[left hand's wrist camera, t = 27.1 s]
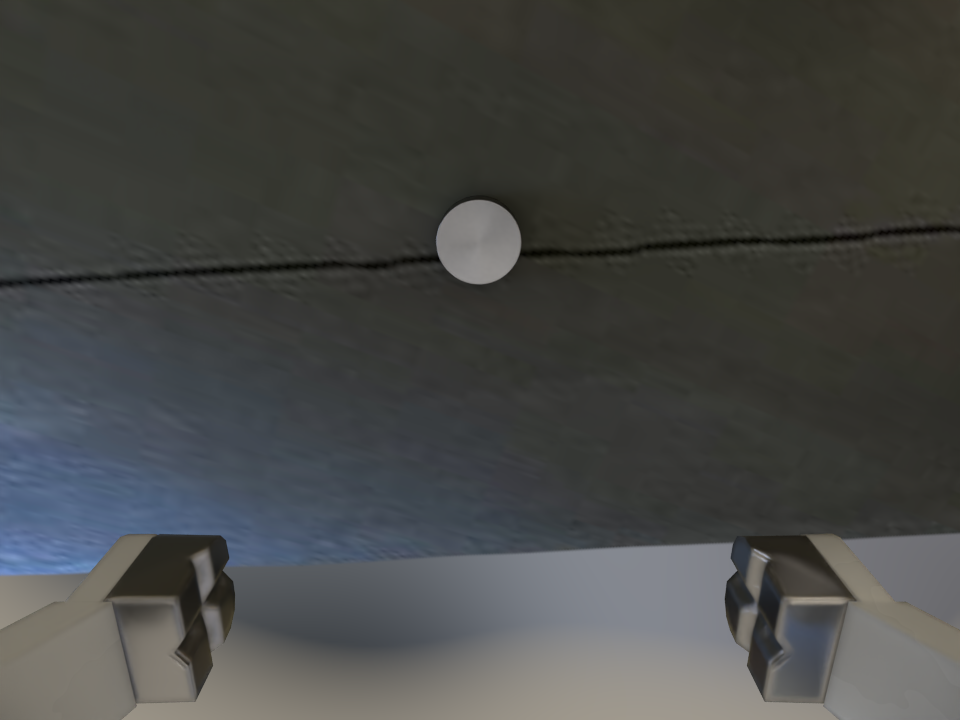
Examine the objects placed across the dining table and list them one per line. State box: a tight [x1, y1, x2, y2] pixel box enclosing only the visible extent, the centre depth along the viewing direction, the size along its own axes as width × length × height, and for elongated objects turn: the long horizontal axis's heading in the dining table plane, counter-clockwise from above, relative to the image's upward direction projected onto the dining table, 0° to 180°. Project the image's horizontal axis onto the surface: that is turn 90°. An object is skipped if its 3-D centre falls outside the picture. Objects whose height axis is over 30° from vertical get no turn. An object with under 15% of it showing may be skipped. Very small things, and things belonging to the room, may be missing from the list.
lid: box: [436, 196, 521, 285], centre depth 38 cm, size 5×5×2 cm
